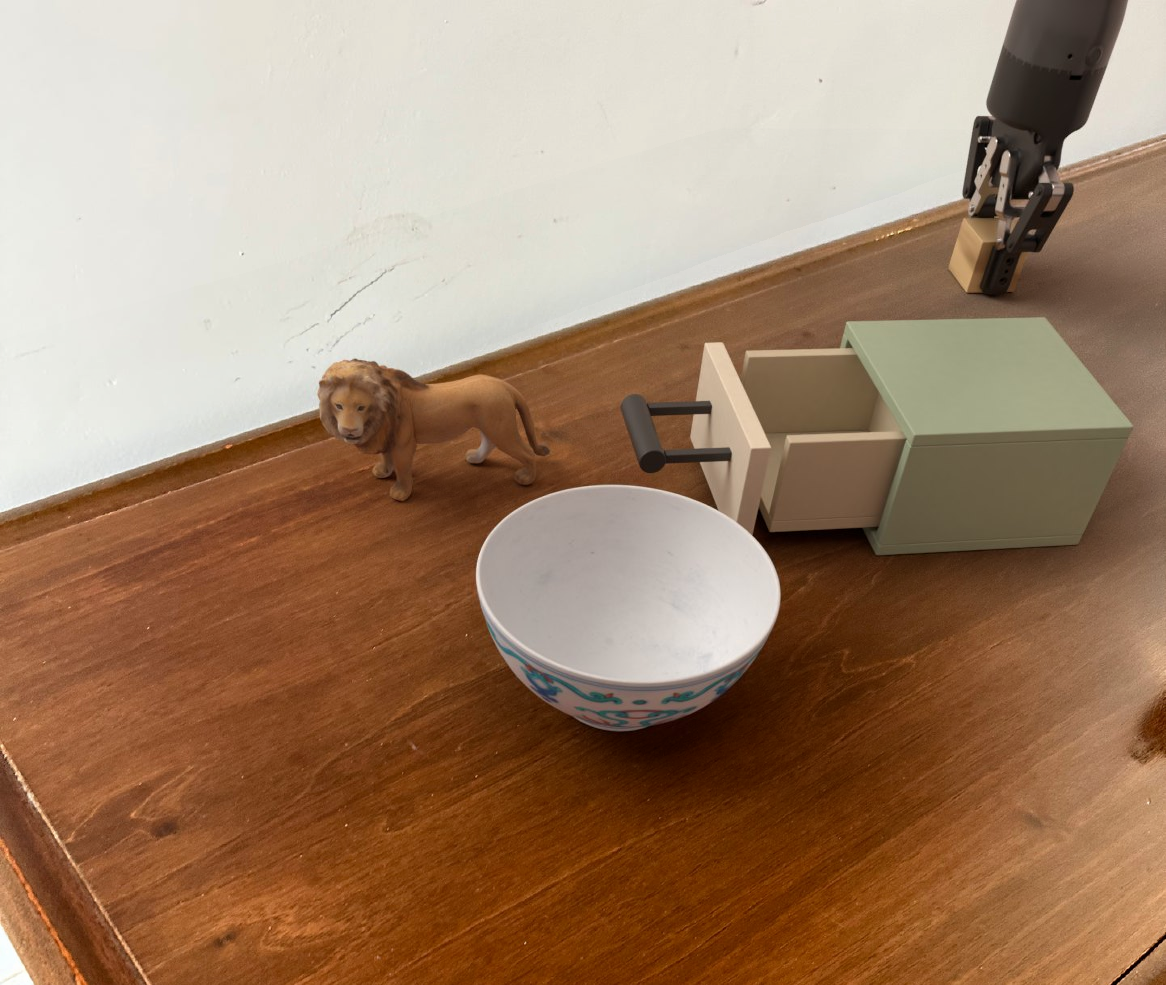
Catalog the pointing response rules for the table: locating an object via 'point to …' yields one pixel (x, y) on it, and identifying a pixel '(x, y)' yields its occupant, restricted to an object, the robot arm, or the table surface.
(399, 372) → the lion figurine
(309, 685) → the table surface
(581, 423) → the table surface
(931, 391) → the cabinet
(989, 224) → the birch block
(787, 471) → the drawer
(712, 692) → the chinaware
